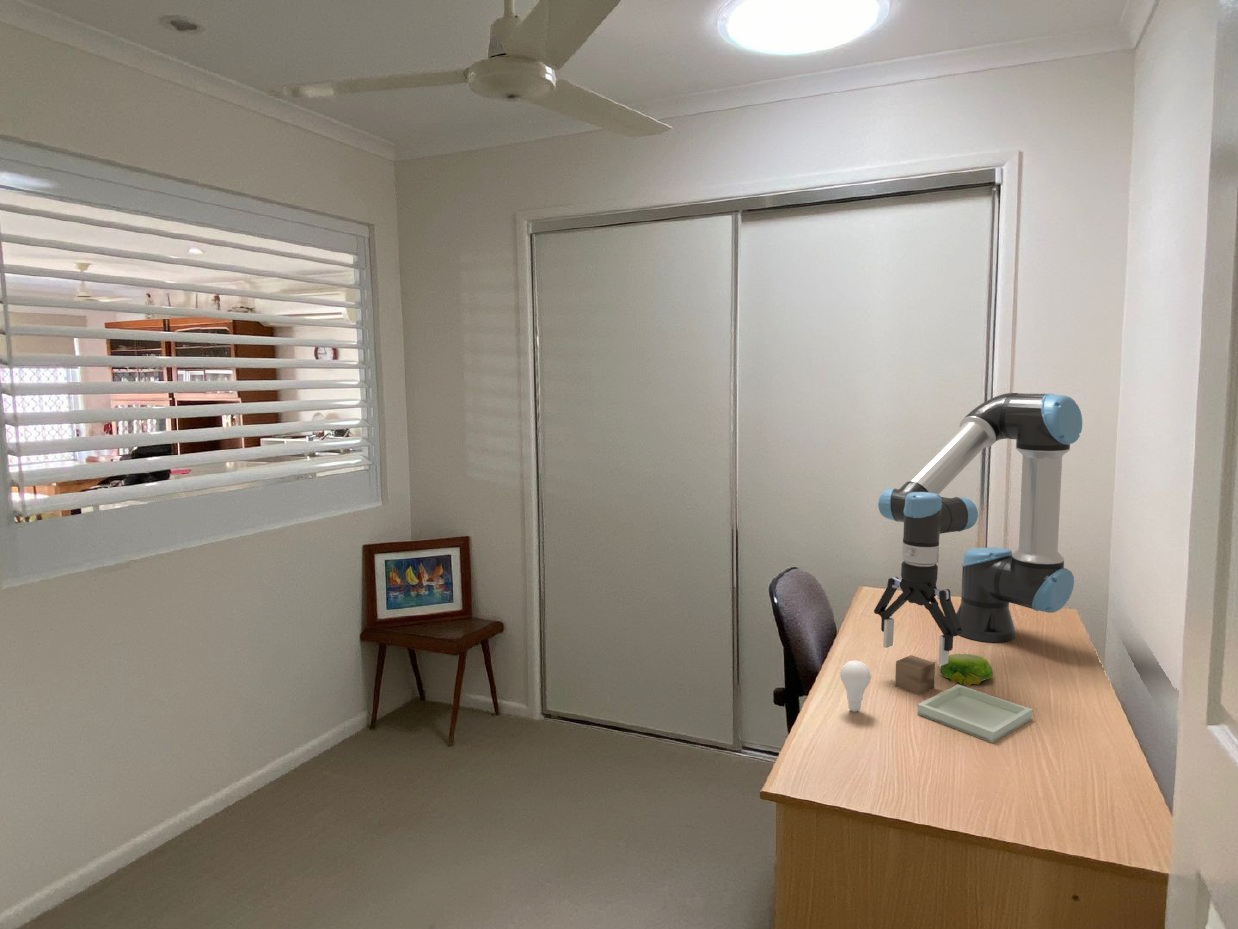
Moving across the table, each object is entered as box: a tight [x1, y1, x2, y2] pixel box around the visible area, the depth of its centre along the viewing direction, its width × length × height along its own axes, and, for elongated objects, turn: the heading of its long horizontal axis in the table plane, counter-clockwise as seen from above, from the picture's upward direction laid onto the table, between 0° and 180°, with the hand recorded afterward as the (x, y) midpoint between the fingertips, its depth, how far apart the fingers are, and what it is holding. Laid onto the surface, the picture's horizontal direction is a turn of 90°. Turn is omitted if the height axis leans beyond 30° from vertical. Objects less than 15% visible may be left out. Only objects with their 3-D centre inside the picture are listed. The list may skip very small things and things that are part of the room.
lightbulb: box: [839, 660, 872, 713], centre depth 163 cm, size 6×6×11 cm
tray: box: [916, 683, 1034, 744], centre depth 161 cm, size 16×16×2 cm
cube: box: [894, 654, 936, 696], centre depth 176 cm, size 6×6×6 cm
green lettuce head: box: [939, 653, 994, 687], centre depth 182 cm, size 12×11×5 cm
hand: (914, 655), depth 175 cm, fingers open, 13 cm apart
